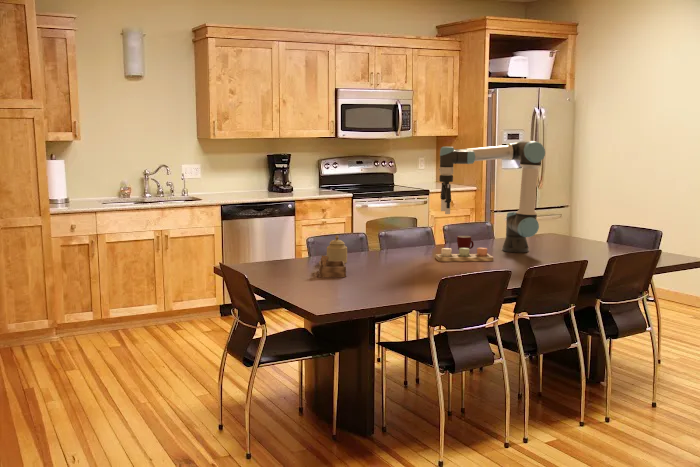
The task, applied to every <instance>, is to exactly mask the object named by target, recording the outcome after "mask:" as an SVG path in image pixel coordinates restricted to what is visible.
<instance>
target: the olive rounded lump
mask: <svg viewBox="0 0 700 467" xmlns="http://www.w3.org/2000/svg"><path fill="white" fill-rule="evenodd" d="M470 250H471V249H469V248H459V250H458V254H459V256H462V257H468V256H469V254H470Z"/></svg>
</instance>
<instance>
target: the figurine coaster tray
mask: <svg viewBox="0 0 700 467" xmlns="http://www.w3.org/2000/svg"><path fill="white" fill-rule="evenodd" d="M318 272H319V277H320V278H345V277H347V266H346V263H344V261H328V262H327V267H322V261H321V260H319V261H318Z"/></svg>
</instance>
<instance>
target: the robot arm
mask: <svg viewBox="0 0 700 467" xmlns="http://www.w3.org/2000/svg"><path fill="white" fill-rule="evenodd" d="M439 150H440V151H439V168H438V171H439V178H438V180H439V182H441V188H440V189H441V190H440V212H444V214H445V215H451V202H452V190H451V183H452V182H454V165H472V164H474V163H475V162H483V161H493V160H506V159H508V160H509V161H515V160H516V161H519V165H520V167H521V168H522V171H521V183H520V195H519V196H520V197H519V206H518V210H517V211H514V212H513V211H509V212H507V214H506V218H505V219H506V220H505V221H506V226H505V230H506V231H505V239H504V242H503V244H502V251H504V252H508V253H528V252H529V250H530V249H529V244H528V240H527V238H531V237H533V236H535V235H536V234H537V233H538V231H539V228H540V224H539V221H538V220H537V217H538V216H537V215H538V214H537V212H536V211H535V208H536V198H537V197H536V195H537V186H538V185H537V183H538V172H539V171H538V170H539V168H541V167H542V161H543V160H544V158H545V156H546V150H545V147H544V145H543V144H542V143H541V142H538V141H536V140H521V141H517V142H509V143H508V144H506V145H496V146H484V147H482V146H481V147H471V148H462V149H461V148H460V149H458V148H456V149H455V148H454V146H442V147H440V149H439Z"/></svg>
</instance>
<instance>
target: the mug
mask: <svg viewBox="0 0 700 467" xmlns="http://www.w3.org/2000/svg"><path fill="white" fill-rule="evenodd" d="M456 241H457V249H458V251H459V248H469V249H470V250H471V249H472V248H474V246H475V245H474V241H473V240H472V236H470V235H458V236H456Z"/></svg>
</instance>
